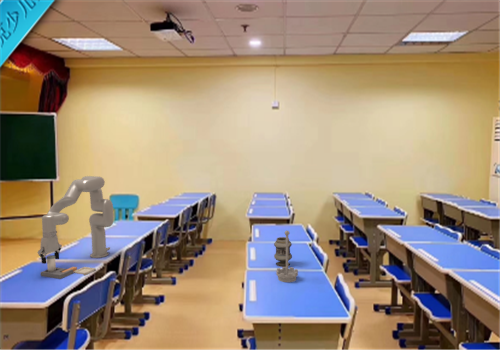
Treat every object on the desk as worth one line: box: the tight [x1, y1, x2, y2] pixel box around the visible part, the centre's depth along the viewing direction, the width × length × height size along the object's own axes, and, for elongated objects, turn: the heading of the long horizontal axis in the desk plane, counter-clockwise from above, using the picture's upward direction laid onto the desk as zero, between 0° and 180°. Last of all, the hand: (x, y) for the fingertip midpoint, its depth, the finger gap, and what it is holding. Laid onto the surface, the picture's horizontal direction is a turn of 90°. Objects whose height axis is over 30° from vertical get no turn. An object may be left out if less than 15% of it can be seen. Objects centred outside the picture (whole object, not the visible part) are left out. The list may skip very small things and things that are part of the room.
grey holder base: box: [40, 267, 74, 280], centre depth 235 cm, size 10×16×3 cm, turn 70°
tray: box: [73, 266, 96, 276], centre depth 241 cm, size 9×9×2 cm
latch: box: [62, 266, 78, 273], centre depth 239 cm, size 10×3×2 cm, turn 160°
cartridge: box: [46, 254, 56, 272], centre depth 236 cm, size 5×5×12 cm
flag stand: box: [275, 230, 299, 283], centre depth 225 cm, size 13×13×30 cm
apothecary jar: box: [273, 236, 293, 268], centre depth 252 cm, size 12×12×18 cm
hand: (50, 261), depth 236 cm, fingers open, 9 cm apart
